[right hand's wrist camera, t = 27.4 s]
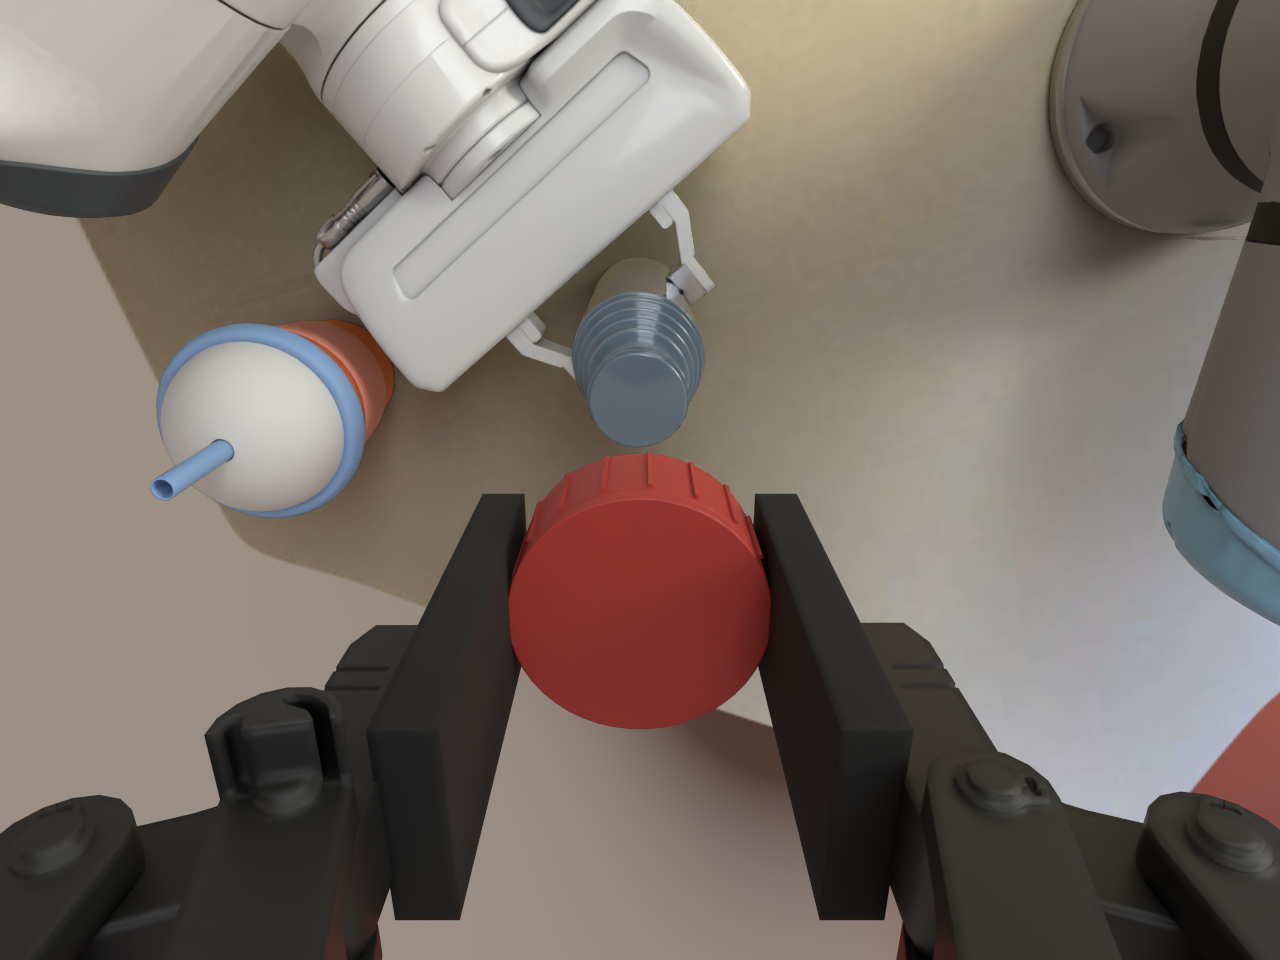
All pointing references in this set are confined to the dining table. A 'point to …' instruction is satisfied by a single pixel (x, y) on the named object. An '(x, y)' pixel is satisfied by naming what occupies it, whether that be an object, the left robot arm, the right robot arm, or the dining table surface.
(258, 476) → the cup with straw
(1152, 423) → the dining table surface
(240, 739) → the right robot arm
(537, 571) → the cap
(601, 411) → the bottle
